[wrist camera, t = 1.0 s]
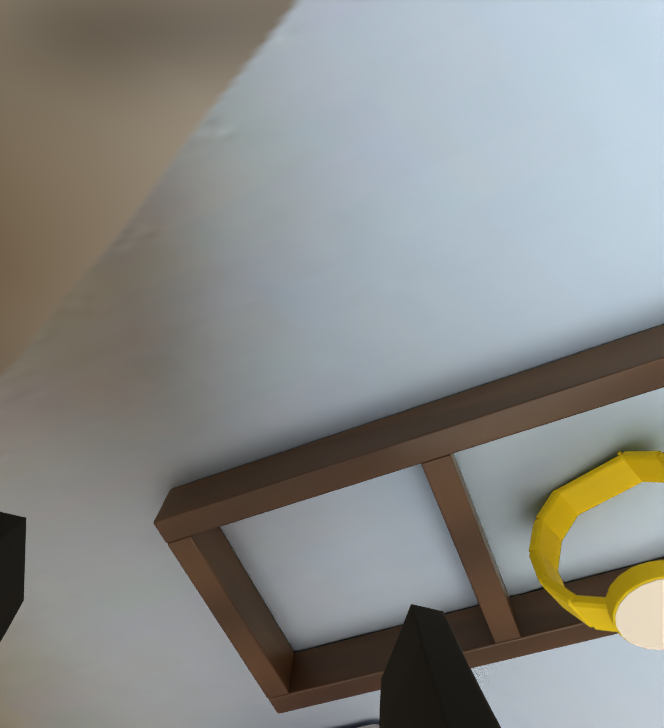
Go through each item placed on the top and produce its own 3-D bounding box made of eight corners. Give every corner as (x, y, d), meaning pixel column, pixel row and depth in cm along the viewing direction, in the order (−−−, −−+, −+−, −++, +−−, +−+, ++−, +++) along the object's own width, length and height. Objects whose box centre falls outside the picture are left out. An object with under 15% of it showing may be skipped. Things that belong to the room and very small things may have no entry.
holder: (763, 551, 22) (801, 591, 20) (283, 672, 26) (277, 714, 24) (724, 303, 18) (765, 324, 16) (170, 489, 22) (152, 523, 20)
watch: (646, 410, 20) (756, 524, 14) (687, 463, 20) (806, 590, 15) (501, 502, 21) (549, 634, 16) (543, 547, 22) (603, 688, 17)
